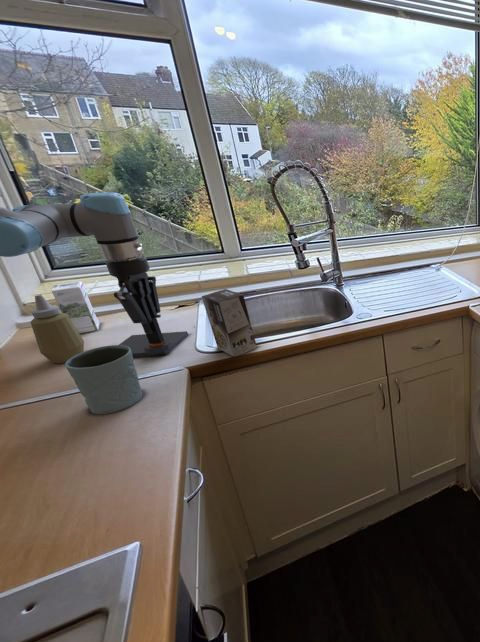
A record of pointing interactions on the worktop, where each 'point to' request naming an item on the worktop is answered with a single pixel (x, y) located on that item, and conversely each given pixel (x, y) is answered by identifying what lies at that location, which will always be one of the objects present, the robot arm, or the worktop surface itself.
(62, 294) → the syrup box
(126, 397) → the grey-green plant pot
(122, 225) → the robot arm
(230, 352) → the coffee box
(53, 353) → the squeeze bottle
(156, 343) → the tare button
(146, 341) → the scale
